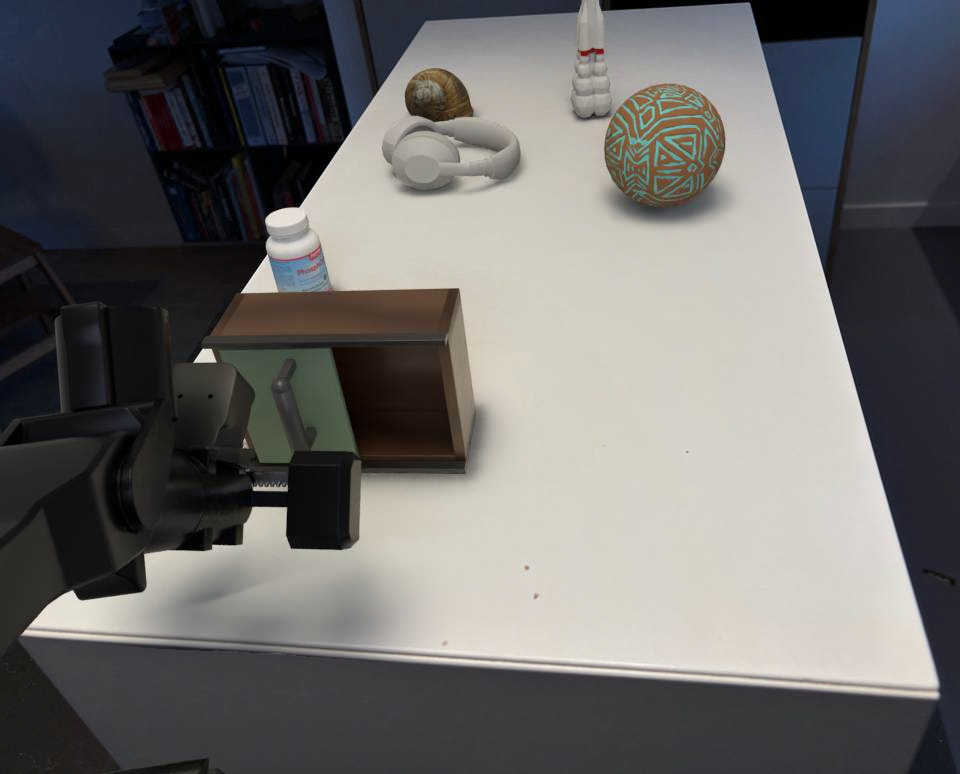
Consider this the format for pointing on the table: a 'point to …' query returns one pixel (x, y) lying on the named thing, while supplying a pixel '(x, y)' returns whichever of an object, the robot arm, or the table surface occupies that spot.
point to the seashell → (437, 96)
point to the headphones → (447, 150)
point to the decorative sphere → (664, 145)
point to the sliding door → (293, 401)
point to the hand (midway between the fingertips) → (269, 495)
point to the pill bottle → (295, 252)
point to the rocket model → (590, 63)
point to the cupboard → (375, 367)
